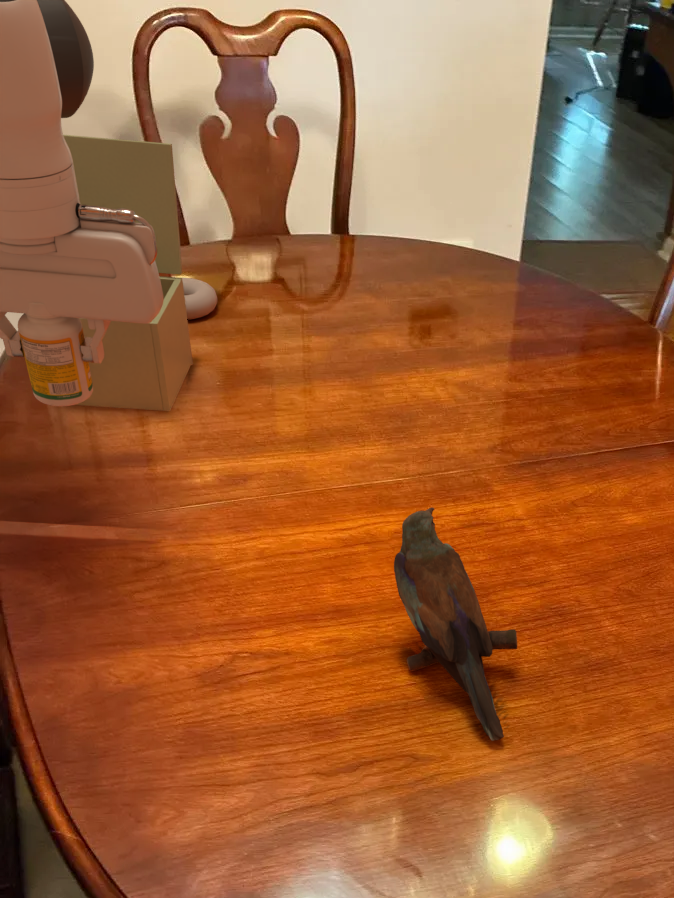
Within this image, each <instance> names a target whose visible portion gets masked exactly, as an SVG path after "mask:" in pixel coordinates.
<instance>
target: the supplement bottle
mask: <svg viewBox="0 0 674 898" xmlns="http://www.w3.org/2000/svg"><path fill="white" fill-rule="evenodd" d="M17 331H19V336H20V340H21V344H22V348H23V352H24V357H23V358H24V360H25V365H26V369H27V373H28V377H29V381H30V385H31V390H32V393H33V396H34V397H35V399H36V400H37V401H38V402H40V403H42V404H45V405H47V406H53V407H69V406H76V405H75V404H78V403H81V402H83V401H85V400H87V399H88V398H89V397H90V396H91V394H92V392H93V384H92V378H91V372H90V367H89V362H83V359H82V357H83V354H82V353H81V349H80V345H81V343H82V342H84V334H83V328H82V323H81V320H80V319H79V318H72V317H60V316H53V315H51V314H50V313H49V312H48V310H47V309H46V306H45V304H44V303H35V302H29V310H28V314H24V313H22V315H21V316H20V317H19V318H18V321H17Z"/></svg>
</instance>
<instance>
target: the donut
mask: <svg viewBox="0 0 674 898" xmlns="http://www.w3.org/2000/svg"><path fill="white" fill-rule="evenodd" d="M181 278H182V281H183V289H184V297H185V305H186V312H187V319H188V320H195V319H200V318H203V317H205V316H208V315H209V314H210V313H212V312H213V311H214V310H215V308H216V306H217V304H218V296H217V292H216V289H215V288H214V287H213V286H211V284H209V283H207V282H205V281H204V280H201V279H196V278H193V277H181Z"/></svg>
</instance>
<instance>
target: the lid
mask: <svg viewBox="0 0 674 898" xmlns="http://www.w3.org/2000/svg"><path fill="white" fill-rule="evenodd" d="M63 136H64V139H65V141H66V143H67V145H68V147H69V150H70V152H71V155H72V159H73V165H74V171H75V176H76V182H77V187H78V193H79V198H80V204H81V205H91V206H100V207H105V208H110V209H118V208H123V209H129V210H132V211H134V212H135V215H138V216H140V217H142V218H144V219H145V220H146V221H147V222H148V223H149V224H150V225H151V226H152V228H153V230H154V233H155V238H156V246H157V256H156V259H155V262H156V266H157V269H158V273H159V274H165V275H166V274H167V275H182V274H183V265H182V252H181V251H182V250H181V249H182V248H181V239H180V238H181V237H180V226H179V225H180V224H179V213H178V203H177V200H178V199H177V190H176V178H175V166H174V154H173V153H174V152H173V144H172V143H165V142H154V141H141V140H132V139H131V140H130V139H121V138H120V139H118V138H107V137H96V136H84V135H71V134H63ZM135 223H141V222H139V221H137V220H135Z"/></svg>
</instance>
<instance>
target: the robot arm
mask: <svg viewBox="0 0 674 898" xmlns="http://www.w3.org/2000/svg"><path fill="white" fill-rule="evenodd" d="M94 67H95V61H94V53H93V48H92V45H91V41H90V39H89V36H88V34H87V31H86V28H85V27H84V24H83V23H82V21H81V20H80V19H79V17H78V15H77V14H76V12H75V10H74V9H73V8H72V7H71V6H70V5H69V4H68V2H67V1H66V0H0V340H2V342H3V345H4V350H5V353H6V356H7V357H13V358H14V357H18V358H25V357H24V352H23V348H22V344H21V340H20V336H19V331H18V329H16V327H15V326H14V325H13V324H12V322H11V321H10V320H9V318H8V317H7V316H6V315H7V313H12V314H13V313H14V314H28V310H29V302H35V303H44V304H45V306H46V309H47V310H48V312H49V313H50V314H51V315H53V316H60V317H72V318H83V319H87V321H88V326H89V328H90V329H93V330H95V329H96V331H95V334H94V336H93V337H85V339H84V342H82V343H81V345H80V349H81V353H82V354H83V357H82V359H83V362H89V363H101V362H102V360H103V359H104V348H103V343H102V339H103V337H104V335H105V333H106V331H107V329H108V327H109V325H110V322H111V321H119V322H131V323H143V324H148V323H150V322H151V321H152V320H153V319H154V318H155V317H156V316H157V315H158V313H159V312H160V310H161V308H162V305H163V291H162V286H161V282H160V277H159V276H160V273H158V269H157V266H156V262H155V259H156V256H157V246H156V238H155V233H154V230H153V228H152V226H151V225H150V224H149V223H148V222H147V221H146V220H145V219H144V218H142V217H140V216H138V215H135V212H134V211H132V210H129V209H123V208H118V209H110V208H105V207H100V206H91V205H81V204H80V198H79V193H78V187H77V182H76V176H75V171H74V165H73V159H72V155H71V152H70V150H69V147H68V145H67V143H66V141H65V139H64V136H63V135H64V132H63V127H62V119H68V118H71V117H73V116H74V115H75V114H76V113H77V111H78V110H79V109H80V107H81V106H82V104H83V102H85V100H86V97H87V95H88V92H89V90H90V88H91V85H92V82H93V81H92V80H93V75H94ZM135 220H137V221H139V222H141V223H135Z"/></svg>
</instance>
